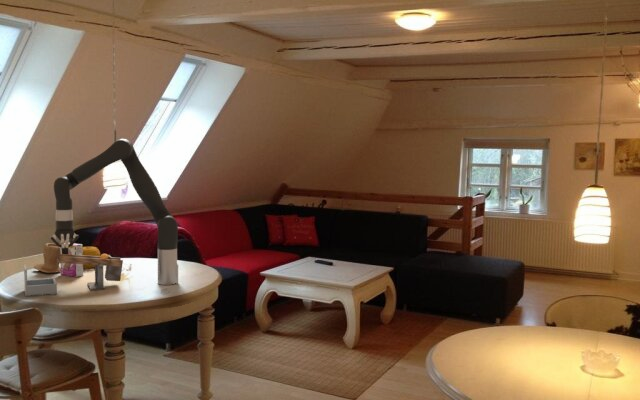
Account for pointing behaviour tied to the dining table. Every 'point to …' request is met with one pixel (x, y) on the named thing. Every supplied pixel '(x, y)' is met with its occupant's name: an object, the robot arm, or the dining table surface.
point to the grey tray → (39, 285)
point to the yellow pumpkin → (90, 254)
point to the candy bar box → (72, 269)
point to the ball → (104, 256)
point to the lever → (111, 264)
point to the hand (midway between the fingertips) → (65, 255)
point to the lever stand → (97, 279)
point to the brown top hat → (49, 259)
